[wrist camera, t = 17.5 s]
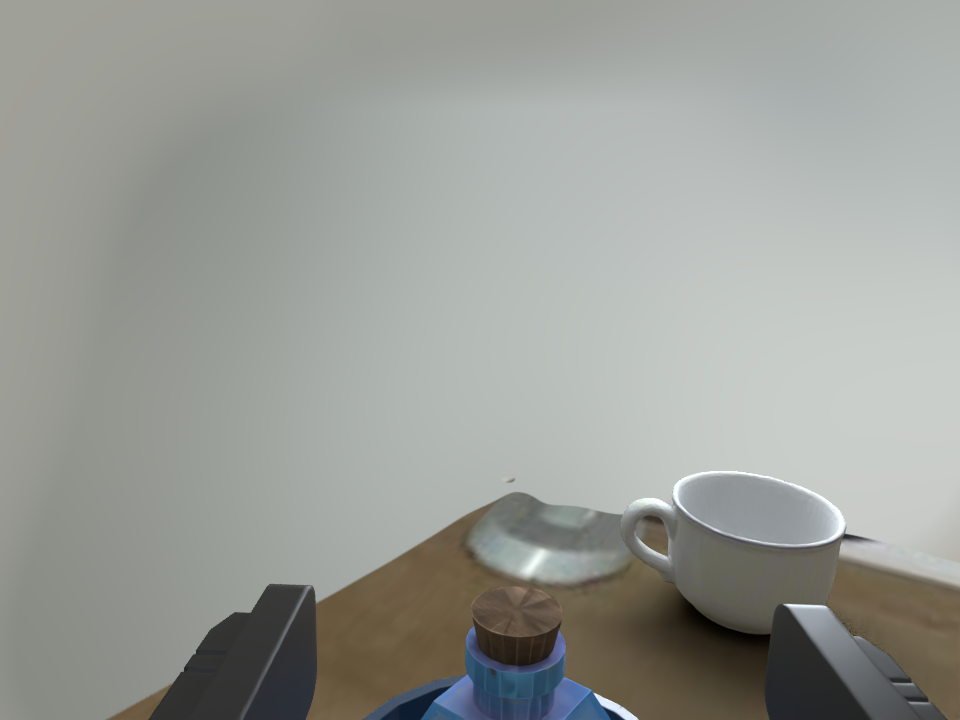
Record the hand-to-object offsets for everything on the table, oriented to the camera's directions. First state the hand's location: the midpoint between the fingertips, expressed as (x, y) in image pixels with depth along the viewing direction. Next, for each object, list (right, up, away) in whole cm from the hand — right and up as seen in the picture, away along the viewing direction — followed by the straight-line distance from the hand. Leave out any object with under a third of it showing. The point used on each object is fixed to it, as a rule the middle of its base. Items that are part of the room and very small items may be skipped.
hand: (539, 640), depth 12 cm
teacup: (+15, -12, +36) cm, 41 cm away
